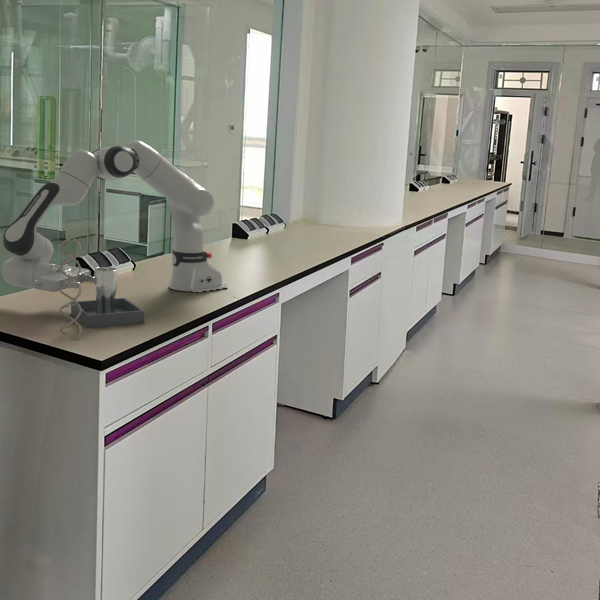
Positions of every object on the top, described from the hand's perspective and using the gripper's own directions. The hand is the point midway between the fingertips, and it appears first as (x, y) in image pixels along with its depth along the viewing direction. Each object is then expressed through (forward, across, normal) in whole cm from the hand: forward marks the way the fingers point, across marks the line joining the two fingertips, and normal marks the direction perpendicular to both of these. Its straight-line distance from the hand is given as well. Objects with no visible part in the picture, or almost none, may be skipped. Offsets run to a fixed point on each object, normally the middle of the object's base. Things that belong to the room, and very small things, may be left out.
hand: (87, 282), depth 228 cm
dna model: (+9, -22, +11) cm, 26 cm away
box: (+7, 0, +11) cm, 13 cm away
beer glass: (+7, 0, +10) cm, 12 cm away
